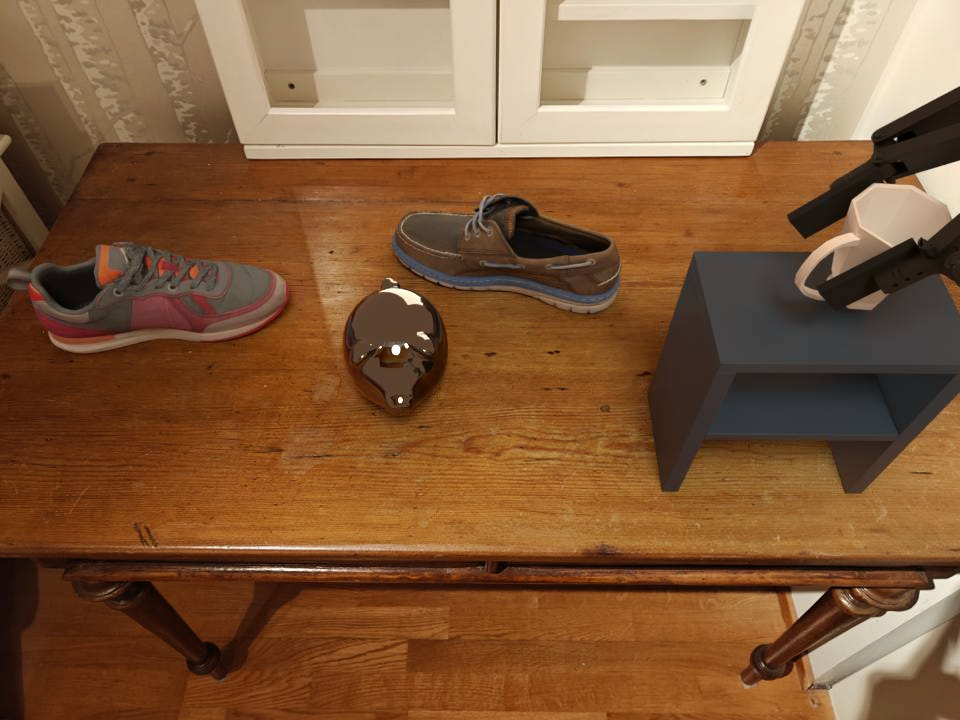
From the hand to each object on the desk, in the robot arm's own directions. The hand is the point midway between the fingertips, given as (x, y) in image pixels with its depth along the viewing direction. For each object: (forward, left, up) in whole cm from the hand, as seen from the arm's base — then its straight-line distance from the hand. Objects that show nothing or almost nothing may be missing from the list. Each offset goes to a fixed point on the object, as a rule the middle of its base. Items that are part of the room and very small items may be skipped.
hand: (810, 261), depth 52 cm
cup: (-2, -3, -4) cm, 5 cm away
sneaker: (+50, +40, -27) cm, 70 cm away
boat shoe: (+33, +3, -27) cm, 43 cm away
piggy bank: (+26, +23, -27) cm, 44 cm away
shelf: (-2, -3, -27) cm, 27 cm away
